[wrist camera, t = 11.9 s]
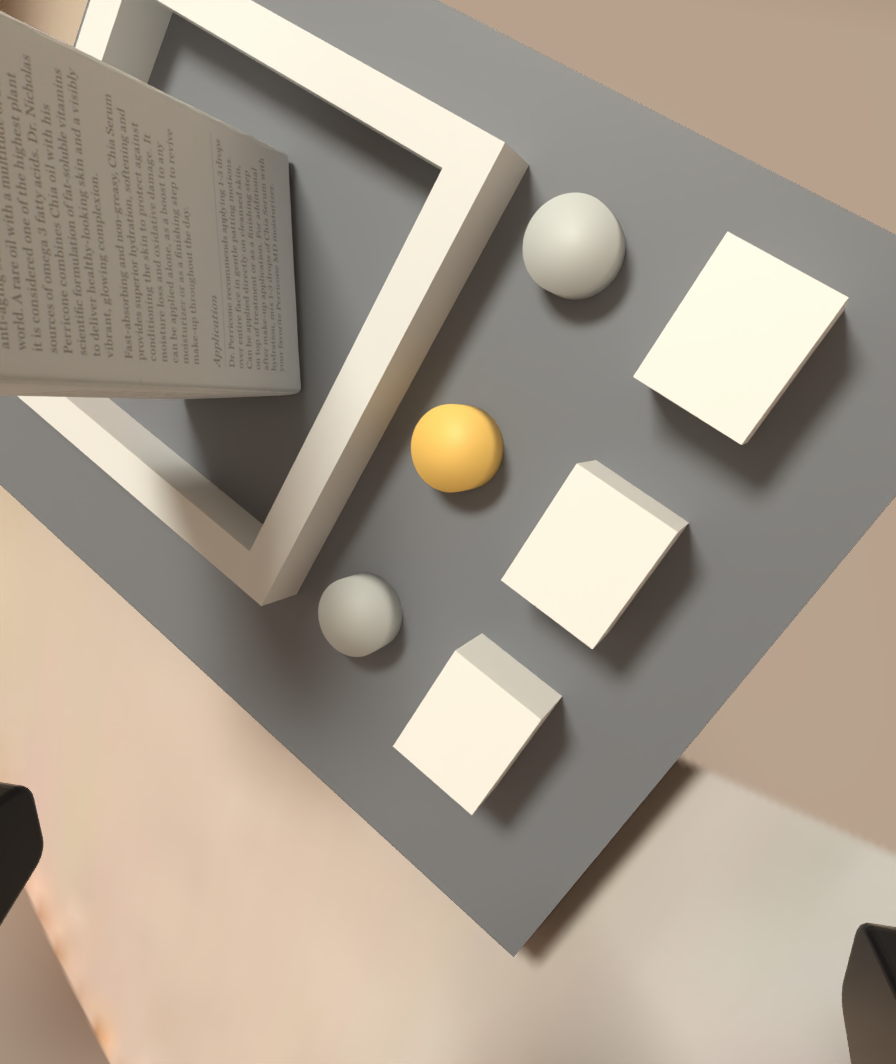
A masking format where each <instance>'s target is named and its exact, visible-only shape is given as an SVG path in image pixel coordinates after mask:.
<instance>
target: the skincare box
mask: <svg viewBox="0 0 896 1064" xmlns="http://www.w3.org/2000/svg"><path fill="white" fill-rule="evenodd" d="M300 390H301V381H300V367H299V350H298V332H297V313H296V295H295V278H294V260H293V240H292V222H291V201H290V185H289V160H288V156H287V155H286V153H284V152H282V151H281V150H279V149H277V148H275V147H273V146H271V145H269V144H267V143H265V142H263V141H261V140H259V139H257V138H255V137H253V136H251V135H249V134H247V133H245V132H243V131H241V130H239V129H237V128H235V127H233V126H231V125H229V124H227V123H225V122H223V121H221V120H219V119H217V118H215V117H213V116H211V115H209V114H207V113H205V112H203V111H201V110H199V109H197V108H195V107H193V106H191V105H189V104H187V103H185V102H183V101H181V100H179V99H176V98H174V97H172V96H170V95H168V94H166V93H164V92H162V91H160V90H158V89H156V88H154V87H152V86H150V85H148V84H146V83H144V82H143V81H141V80H139V79H137V78H135V77H133V76H131V75H129V74H127V73H125V72H123V71H121V70H119V69H117V68H115V67H113V66H111V65H109V64H106V63H105V62H103V61H101V60H99V59H97V58H95V57H93V56H91V55H89V54H87V53H85V52H83V51H81V50H79V49H77V48H75V47H73V46H71V45H68V44H67V43H65V42H63V41H61V40H59V39H57V38H55V37H53V36H51V35H49V34H47V33H45V32H43V31H41V30H39V29H37V28H35V27H32V26H30V25H28V24H26V23H24V22H22V21H20V20H18V19H16V18H14V17H12V16H10V15H8V14H6V13H4V12H2V11H0V395H2V396H46V397H86V398H132V399H163V400H171V399H206V398H233V397H258V396H281V395H292V394H296V393H298V392H299V391H300Z"/></svg>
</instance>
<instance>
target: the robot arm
mask: <svg viewBox="0 0 896 1064" xmlns="http://www.w3.org/2000/svg"><path fill="white" fill-rule="evenodd" d="M42 851H43V836H42V832H41V827H40V823H39V819H38V814H37V810H36V805H35V801H34V797H33V794H32V792H31V791H30V790H29V789H28V788H26V787H24V786H21V785H14V784H8V783H2V782H0V925H1V924H2V922H3V920H4V919H5V917H6V916H7V914H8V912H9V911H10V909H11V907H12V906H13V904H14V902H15V901H16V899H17V897H18V896H19V894H20V893H21V891H22V889H23V888H24V886H25V884H26V883H27V881H28V880H29V878H30V876H31V875H32V873H33V871H34V870H35V868H36V866H37V865H38V863H39V860H40V858H41V855H42ZM842 1008H843V1016H844V1022H845V1028H846V1034H847V1040H848V1046H849V1052H850V1058H851V1064H896V927H891V926H885V925H879V924H872V923H864V924H862V925H860V926H859V928H858V929H857V931H856V934H855V938H854V942H853V945H852V949H851V953H850V957H849V961H848V965H847V969H846V973H845V977H844V981H843V986H842Z"/></svg>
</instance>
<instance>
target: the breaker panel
mask: <svg viewBox="0 0 896 1064" xmlns="http://www.w3.org/2000/svg"><path fill="white" fill-rule="evenodd" d="M74 47H75V48H77V49H79V50H81V51H83V52H85V53H87V54H89V55H91V56H93V57H95V58H97V59H99V60H101V61H103V62H105V63H106V64H109V65H111V66H113V67H115V68H117V69H119V70H121V71H123V72H125V73H127V74H129V75H131V76H133V77H135V78H137V79H139V80H141V81H143V82H144V83H146V84H148V85H150V86H152V87H154V88H156V89H158V90H160V91H162V92H164V93H166V94H168V95H170V96H172V97H174V98H176V99H179V100H181V101H183V102H185V103H187V104H189V105H191V106H193V107H195V108H197V109H199V110H201V111H203V112H205V113H207V114H209V115H211V116H213V117H215V118H217V119H219V120H221V121H223V122H225V123H227V124H229V125H231V126H233V127H235V128H237V129H239V130H241V131H243V132H245V133H247V134H249V135H251V136H253V137H255V138H257V139H259V140H261V141H263V142H265V143H267V144H269V145H271V146H273V147H275V148H277V149H279V150H281V151H282V152H284V153H286V155H287V156H288V160H289V185H290V201H291V222H292V240H293V260H294V278H295V295H296V313H297V332H298V350H299V367H300V381H301V390H300V391H299V392H298V393H296V394H292V395H281V396H258V397H233V398H206V399H171V400H163V399H132V398H86V397H46V396H2V395H0V485H1V486H2V487H3V488H4V489H6V490H7V491H8V492H9V493H10V494H11V495H12V496H13V497H14V498H15V499H16V500H17V501H19V502H20V503H21V504H22V505H23V506H24V507H25V508H26V509H27V510H28V511H29V512H30V513H32V514H33V515H34V516H35V517H36V518H37V519H38V520H39V521H40V522H41V523H42V524H44V525H45V526H46V527H47V528H48V529H49V530H50V531H51V532H52V533H53V534H54V535H55V536H57V537H58V538H59V539H60V540H61V541H62V542H63V543H64V544H65V545H66V546H67V547H69V548H70V549H71V550H72V551H73V552H74V553H75V554H76V555H77V556H78V557H79V558H80V559H82V560H83V561H84V562H85V563H86V564H87V565H88V566H89V567H90V568H91V569H92V570H94V571H95V572H96V573H97V574H98V575H99V576H100V577H101V578H102V579H103V580H104V581H105V582H107V583H108V584H109V585H110V586H111V587H112V588H113V589H114V590H115V591H116V592H117V593H119V594H120V595H121V596H122V597H123V598H124V599H125V600H126V601H127V602H128V603H129V604H130V605H132V606H133V607H134V608H135V609H136V610H137V611H138V612H139V613H140V614H141V615H142V616H144V617H145V618H146V619H147V620H148V621H149V622H150V623H151V624H152V625H153V626H154V627H155V628H157V629H158V630H159V631H160V632H161V633H162V634H163V635H164V636H165V637H166V638H167V639H169V640H170V641H171V642H172V643H173V644H174V645H175V646H176V647H177V648H178V649H179V650H180V651H182V652H183V653H184V654H185V655H186V656H187V657H188V658H189V659H190V660H191V661H192V662H193V663H195V664H196V665H197V666H198V667H199V668H200V669H201V670H202V671H203V672H204V673H205V674H207V675H208V676H209V677H210V678H211V679H212V680H213V681H214V682H215V683H216V684H217V685H218V686H220V687H221V688H222V689H223V690H224V691H225V692H226V693H227V694H228V695H229V696H230V697H232V698H233V699H234V700H235V701H236V702H237V703H238V704H239V705H240V706H241V707H242V708H243V709H245V710H246V711H247V712H248V713H249V714H250V715H251V716H252V717H253V718H254V719H255V720H257V721H258V722H259V723H260V724H261V725H262V726H263V727H264V728H265V729H266V730H267V731H268V732H270V733H271V734H272V735H273V736H274V737H275V738H276V739H277V740H278V741H279V742H280V743H282V744H283V745H284V746H285V747H286V748H287V749H288V750H289V751H290V752H291V753H292V754H293V755H295V756H296V757H297V758H298V759H299V760H300V761H301V762H302V763H303V764H304V765H305V766H307V767H308V768H309V769H310V770H311V771H312V772H313V773H314V774H315V775H316V776H317V777H318V778H320V779H321V780H322V781H323V782H324V783H325V784H326V785H327V786H328V787H329V788H330V789H332V790H333V791H334V792H335V793H336V794H337V795H338V796H339V797H340V798H341V799H342V800H343V801H345V802H346V803H347V804H348V805H349V806H350V807H351V808H352V809H353V810H354V811H355V812H356V813H358V814H359V815H360V816H361V817H362V818H363V819H364V820H365V821H366V822H367V823H368V824H370V825H371V826H372V827H373V828H374V829H375V830H376V831H377V832H378V833H379V834H380V835H381V836H383V837H384V838H385V839H386V840H387V841H388V842H389V843H390V844H391V845H392V846H393V847H395V848H396V849H397V850H398V851H399V852H400V853H401V854H402V855H403V856H404V857H405V858H406V859H408V860H409V861H410V862H411V863H412V864H413V865H414V866H415V867H416V868H417V869H418V870H420V871H421V872H422V873H423V874H424V875H425V876H426V877H427V878H428V879H429V880H430V881H431V882H433V883H434V884H435V885H436V886H437V887H438V888H439V889H440V890H441V891H442V892H443V893H445V894H446V895H447V896H448V897H449V898H450V899H451V900H452V901H453V902H454V903H455V904H456V905H458V906H459V907H460V908H461V909H462V910H463V911H464V912H465V913H466V914H467V915H468V916H470V917H471V918H472V919H473V920H474V921H475V922H476V923H477V924H478V925H479V926H480V927H481V928H483V929H484V930H485V931H486V932H487V933H488V934H489V935H490V936H491V937H492V938H493V939H495V940H496V941H497V942H498V943H499V944H500V945H501V946H502V947H503V948H504V949H505V950H506V951H508V952H509V953H510V954H511V955H512V956H513V957H514V956H515V955H516V954H517V952H518V951H519V950H520V949H521V948H522V946H523V945H524V944H525V943H526V942H527V940H528V939H529V938H530V937H531V936H532V934H533V933H534V932H535V931H536V930H537V928H538V927H539V926H540V925H541V923H542V922H543V921H544V920H545V919H546V917H547V916H548V915H549V914H550V913H551V911H552V910H553V909H554V908H555V907H556V905H557V904H558V903H559V902H560V901H561V899H562V898H563V897H564V896H565V895H566V893H567V892H568V891H569V890H570V888H571V887H572V886H573V885H574V884H575V882H576V881H577V880H578V879H579V878H580V876H581V875H582V874H583V873H584V872H585V870H586V869H587V868H588V867H589V866H590V864H591V863H592V862H593V861H594V860H595V858H596V857H597V856H598V855H599V853H600V852H601V851H602V850H603V849H604V847H605V846H606V845H607V844H608V843H609V841H610V840H611V839H612V838H613V837H614V835H615V834H616V833H617V832H618V831H619V829H620V828H621V827H622V826H623V824H624V823H625V822H626V821H627V820H628V818H629V817H630V816H631V815H632V814H633V812H634V811H635V810H636V809H637V808H638V806H639V805H640V804H641V803H642V802H643V800H644V799H645V798H646V797H647V796H648V794H649V793H650V792H651V791H652V789H653V788H654V787H655V786H656V785H657V783H658V782H659V781H660V780H661V779H662V777H663V776H664V775H665V774H666V773H667V771H668V770H669V769H670V768H671V767H672V765H673V764H674V763H675V762H676V761H677V759H678V758H679V757H680V756H681V754H682V753H683V752H684V751H685V750H686V748H687V747H688V746H689V745H690V744H691V742H692V741H693V740H694V739H695V737H696V736H697V735H698V734H699V733H700V731H701V730H702V729H703V728H704V727H705V726H706V724H707V723H708V722H709V720H710V719H711V718H712V717H713V716H714V715H715V713H716V712H717V711H718V710H719V709H720V707H721V706H722V705H723V704H724V702H725V701H726V700H727V699H728V698H729V697H730V695H731V694H732V693H733V692H734V691H735V689H736V688H737V687H738V686H739V684H740V683H741V682H742V681H743V680H744V678H745V677H746V676H747V675H748V674H749V672H750V671H751V670H752V669H753V668H754V666H755V665H756V664H757V663H758V662H759V660H760V659H761V658H762V657H763V655H764V654H765V653H766V652H767V651H768V649H769V648H770V647H771V646H772V645H773V643H774V642H775V641H776V640H777V639H778V637H779V636H780V635H781V634H782V633H783V631H784V630H785V629H786V628H787V627H788V625H789V624H790V623H791V622H792V620H793V619H794V618H795V617H796V616H797V614H798V613H799V612H800V611H801V610H802V608H803V607H804V606H805V605H806V604H807V602H808V601H809V600H810V598H812V596H813V595H814V594H815V593H816V591H817V590H818V589H819V588H820V587H821V586H822V584H823V583H824V582H825V581H826V579H827V578H828V577H829V576H830V575H831V573H832V572H833V571H834V570H835V569H836V567H837V566H838V565H839V564H840V562H841V561H842V560H843V559H844V558H845V556H846V555H847V554H848V553H849V552H850V550H851V549H852V548H853V547H854V546H855V544H856V543H857V542H858V541H859V540H860V538H861V537H862V536H863V535H864V534H865V532H866V531H867V530H868V529H869V528H870V526H871V525H872V524H873V523H874V522H875V520H876V519H877V518H878V517H879V516H880V514H881V513H882V512H883V511H884V509H885V508H886V507H887V506H888V505H889V503H890V502H891V501H892V500H893V499H894V497H895V496H896V235H895V234H893V233H891V232H889V231H887V230H885V229H883V228H881V227H879V226H878V225H875V224H873V223H872V222H870V221H868V220H866V219H864V218H862V217H860V216H858V215H856V214H854V213H852V212H850V211H848V210H846V209H844V208H842V207H840V206H838V205H837V204H835V203H833V202H831V201H829V200H827V199H825V198H823V197H821V196H819V195H817V194H815V193H813V192H811V191H809V190H807V189H805V188H803V187H801V186H799V185H797V184H796V183H794V182H792V181H790V180H788V179H786V178H784V177H782V176H780V175H778V174H776V173H774V172H772V171H770V170H768V169H766V168H764V167H762V166H760V165H758V164H756V163H755V162H753V161H751V160H749V159H747V158H745V157H743V156H741V155H739V154H737V153H735V152H733V151H731V150H729V149H727V148H725V147H723V146H721V145H719V144H717V143H715V142H714V141H712V140H710V139H708V138H705V137H704V136H702V135H700V134H698V133H696V132H694V131H692V130H690V129H688V128H686V127H684V126H682V125H680V124H678V123H676V122H674V121H673V120H671V119H669V118H667V117H665V116H663V115H661V114H659V113H657V112H655V111H653V110H651V109H649V108H647V107H645V106H643V105H641V104H639V103H637V102H635V101H633V100H631V99H630V98H628V97H626V96H624V95H622V94H620V93H618V92H616V91H614V90H612V89H610V88H608V87H606V86H604V85H602V84H600V83H598V82H596V81H594V80H592V79H591V78H588V77H587V76H585V75H583V74H581V73H579V72H577V71H575V70H573V69H571V68H569V67H567V66H565V65H563V64H561V63H559V62H557V61H555V60H553V59H551V58H550V57H548V56H546V55H544V54H541V53H540V52H538V51H536V50H534V49H532V48H530V47H528V46H526V45H524V44H522V43H520V42H518V41H516V40H514V39H512V38H510V37H509V36H507V35H505V34H503V33H501V32H499V31H497V30H495V29H493V28H491V27H489V26H487V25H485V24H483V23H481V22H479V21H477V20H475V19H473V18H471V17H469V16H467V15H466V14H464V13H461V12H460V11H458V10H456V9H454V8H452V7H450V6H448V5H446V4H444V3H442V2H440V1H438V0H88V3H87V6H86V9H85V12H84V15H83V19H82V22H81V25H80V28H79V31H78V34H77V37H76V40H75V43H74Z"/></svg>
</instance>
